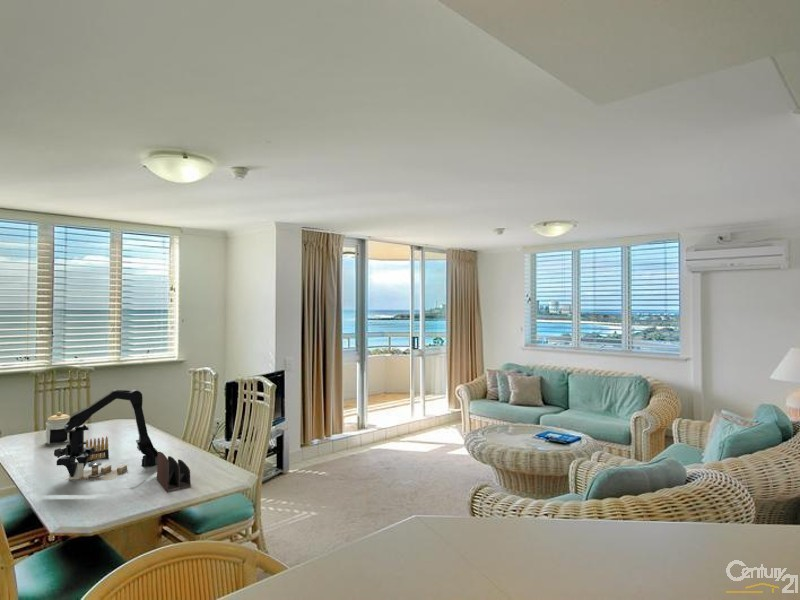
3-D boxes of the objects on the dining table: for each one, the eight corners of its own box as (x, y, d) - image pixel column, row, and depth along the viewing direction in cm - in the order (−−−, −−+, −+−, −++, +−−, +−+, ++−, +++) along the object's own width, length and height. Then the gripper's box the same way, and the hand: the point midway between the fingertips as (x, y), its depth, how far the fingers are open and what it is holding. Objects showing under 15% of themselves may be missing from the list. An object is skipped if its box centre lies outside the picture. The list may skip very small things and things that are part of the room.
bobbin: (103, 473, 232) (103, 462, 232) (97, 477, 226) (97, 465, 226) (92, 473, 232) (92, 462, 232) (85, 477, 226) (85, 465, 226)
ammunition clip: (85, 463, 252) (85, 440, 252) (84, 462, 254) (84, 439, 254) (108, 459, 259) (109, 436, 259) (108, 458, 261) (108, 435, 261)
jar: (41, 445, 287) (41, 414, 287) (51, 439, 299) (51, 410, 299) (66, 443, 290) (66, 413, 290) (75, 438, 302) (75, 409, 302)
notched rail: (127, 470, 237) (127, 464, 237) (121, 473, 232) (121, 468, 232) (107, 470, 237) (107, 464, 237) (100, 473, 232) (100, 468, 232)
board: (127, 472, 237) (127, 469, 237) (110, 483, 223) (110, 479, 223) (84, 473, 237) (84, 469, 237) (64, 483, 223) (64, 480, 223)
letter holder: (166, 492, 212) (166, 459, 212) (156, 480, 228) (156, 449, 228) (191, 487, 218) (191, 455, 218) (179, 475, 234) (179, 445, 234)
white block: (83, 476, 228) (83, 463, 229) (77, 479, 224) (77, 466, 225) (74, 476, 228) (74, 463, 229) (69, 479, 224) (69, 466, 225)
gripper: (72, 435, 236) (72, 468, 236) (44, 446, 217) (44, 482, 217) (95, 435, 236) (95, 468, 236) (69, 446, 217) (69, 482, 217)
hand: (76, 474), depth 226 cm, fingers open, 6 cm apart
